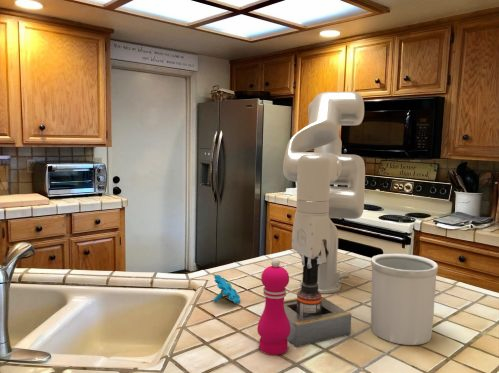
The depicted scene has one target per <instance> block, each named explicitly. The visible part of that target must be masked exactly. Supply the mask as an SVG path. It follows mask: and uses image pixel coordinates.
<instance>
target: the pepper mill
mask: <svg viewBox="0 0 499 373" xmlns="http://www.w3.org/2000/svg"><path fill="white" fill-rule="evenodd" d="M260 278H261V281H260V282H261V284H262V285H263V286H264V287H263V291H262V292H263V293H262V294H263V296H264V297H265V302H264V304H265V306H264V308H263V311H262V313H261V315H260V317H259V319H258V323H257V328H256V329H257V333H258V335H259V337H260V338H259V343H258V344H259V346H258V348H259V350H260V351H261V352H262V353H264V354H267V355H272V356H274V355H275V356H277V355H282V354H284V353H286V352H287V351H288V349H289V341H288V340H287V339H286V338H287V337H288V336H289V335H290V323H289V320H288V318H287V315H286V313H285V310H284V300H285V297H286V296H287V288H286V287H288V285H289V282H290V275H289V272H288V270H287V269H286V268H285V267H282V266H280V261H279V260H278V259H276V258H275V259H273V260H272V261H271V265H269V266H267V267H266V268H264V269H263V271H262V273H261V276H260Z"/></svg>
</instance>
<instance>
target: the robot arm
mask: <svg viewBox="0 0 499 373" xmlns="http://www.w3.org/2000/svg"><path fill="white" fill-rule="evenodd" d="M307 109H308V110H307V115H308V116H307V117H308V124H307V125H306V126H304V127H303V128H301V129H300V130H299V131H297V132H296V133H295V134H293V135H292V137H291V138H290V139H289V140H288V142H287V146H286V149H285V152H284V157H283V164H282V171H283V176H284V177H285V179H286V180H288V181H289V182H290V181H291V182H295V183H296V182H297V185H296V210H295V213H294V218H293V223H292V232H291V249H292V250H293V251H295V252H296V253H297V254H298V255H299V256H300V258H301V264H302V279H301V280H300V282H299V285H300V287H301V284H302V282H304V283H306V284H314V283H317V284H318V291H319V292H320V293H321V294H333V293H337V292H339V291H341V290H342V284H341V282H340V281H342V280H346V279H349V277H350V274H349V272H348V271H347V272H341V271H339V270H338V251H339V231H338V228H337V227H336V225H335V224H334V222H333V221H332V220H331V219H346V220H347V219H348V220H357V219H359V218H361V217H362V215H363V213H364V209H365V192H366V191H365V190H366V189H365V188H366V187H365V186H366V184H365V183H366V166H365V161H364V159H363V157H361V156H360V155H357V154H349V153H348V154H347V153H346V154H342V147H343V146H342V145H343V144H342V143H343V142H342V139H341V138H340V137H339V133H340V126H360V125H361V124H362V122H363V120H364V117H365V102H364V98H363V96H362V95H361V94H360V93H359V92H357V91H325V92H321V93H318V94H316V96H315V97H314V98H313V100H312V101H311V102H310V103H309V104H308V108H307ZM311 150H313V151H311ZM335 185H339V186H335Z"/></svg>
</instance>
